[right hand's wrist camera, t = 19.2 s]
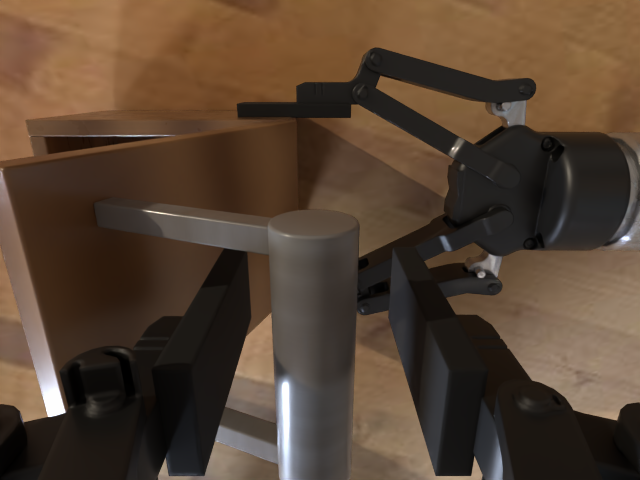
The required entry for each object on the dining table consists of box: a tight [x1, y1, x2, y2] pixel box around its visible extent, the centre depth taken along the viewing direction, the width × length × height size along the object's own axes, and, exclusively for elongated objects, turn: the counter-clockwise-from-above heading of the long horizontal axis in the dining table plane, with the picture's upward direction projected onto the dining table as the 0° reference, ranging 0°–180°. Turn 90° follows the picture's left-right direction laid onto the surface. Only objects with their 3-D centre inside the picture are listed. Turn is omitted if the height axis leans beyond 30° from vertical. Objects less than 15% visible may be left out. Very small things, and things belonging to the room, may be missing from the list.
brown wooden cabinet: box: [26, 111, 296, 156], centre depth 28 cm, size 14×9×9 cm
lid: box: [0, 120, 360, 480], centre depth 16 cm, size 14×9×8 cm
